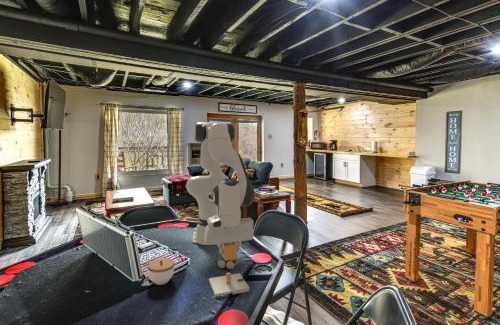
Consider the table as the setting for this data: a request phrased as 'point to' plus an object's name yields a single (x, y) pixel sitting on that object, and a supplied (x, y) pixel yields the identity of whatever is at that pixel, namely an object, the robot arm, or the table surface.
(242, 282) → the plate
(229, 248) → the orange cube with dome
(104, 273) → the table surface
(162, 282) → the lidded jar
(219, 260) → the rainbow segmented toy
